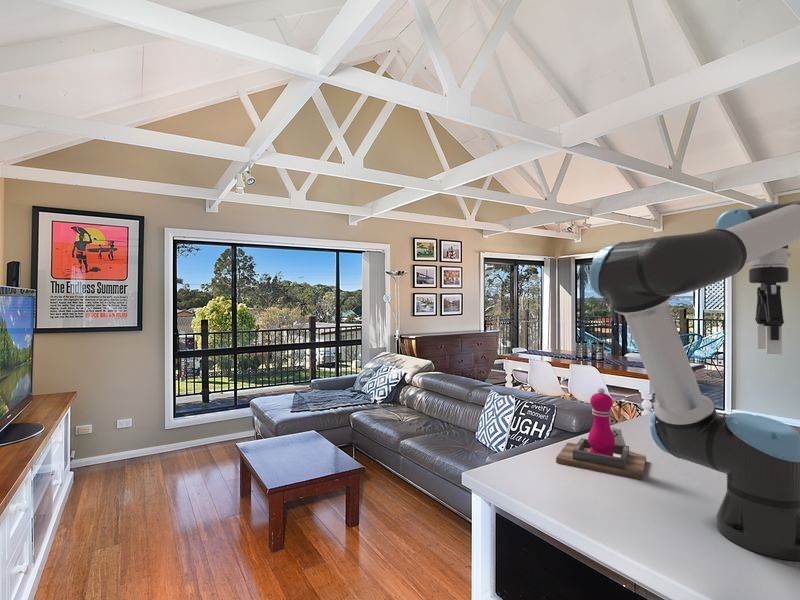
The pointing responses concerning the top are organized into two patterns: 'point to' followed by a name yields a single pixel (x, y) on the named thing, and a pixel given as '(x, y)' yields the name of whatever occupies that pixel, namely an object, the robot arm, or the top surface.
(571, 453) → the socket board
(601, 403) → the pepper mill
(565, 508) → the top surface
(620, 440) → the gaming controller
